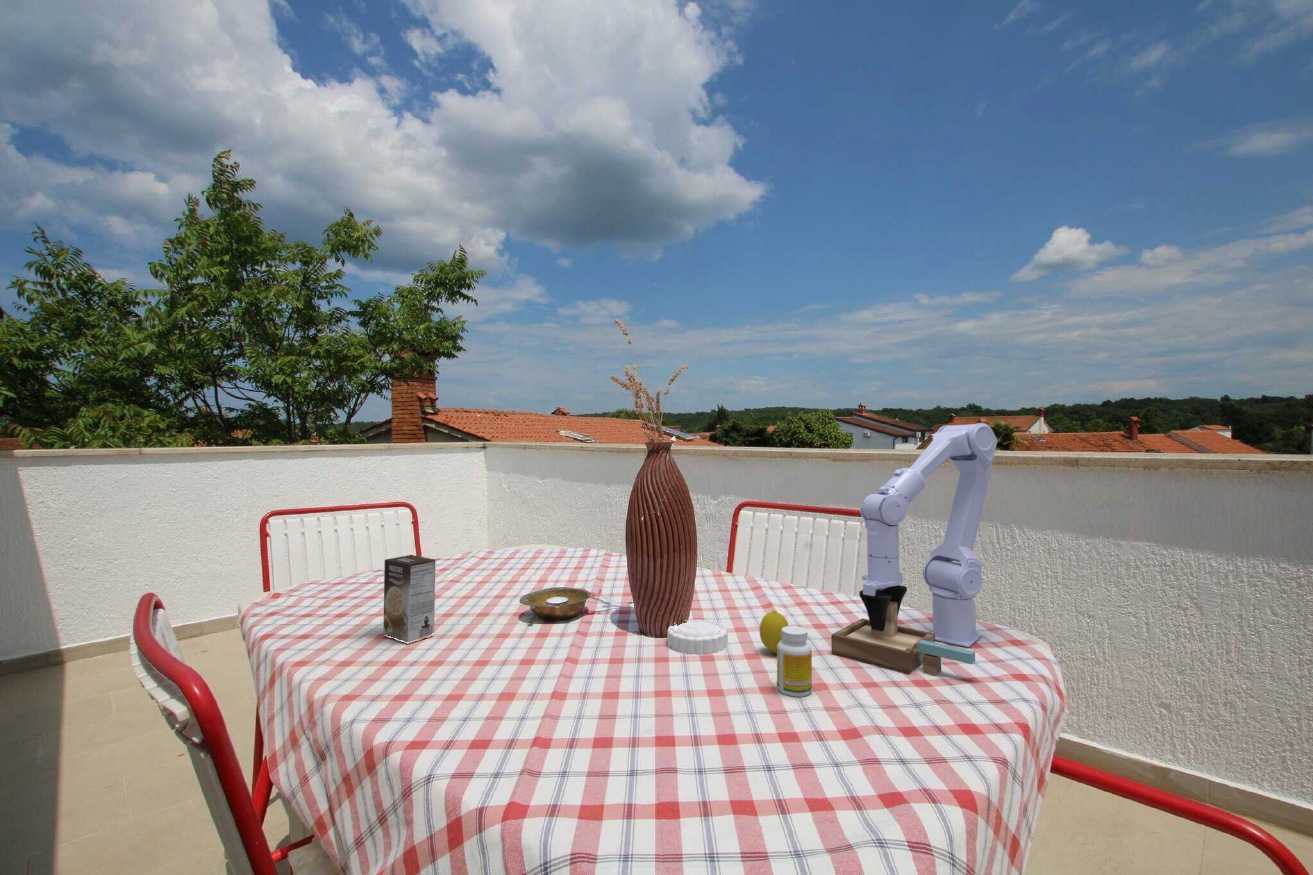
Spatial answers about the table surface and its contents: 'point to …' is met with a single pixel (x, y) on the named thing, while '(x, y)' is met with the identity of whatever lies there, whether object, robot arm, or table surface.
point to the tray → (885, 651)
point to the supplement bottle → (794, 662)
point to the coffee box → (409, 597)
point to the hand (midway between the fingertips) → (884, 626)
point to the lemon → (772, 630)
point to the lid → (887, 632)
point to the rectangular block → (946, 651)
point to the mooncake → (697, 637)
